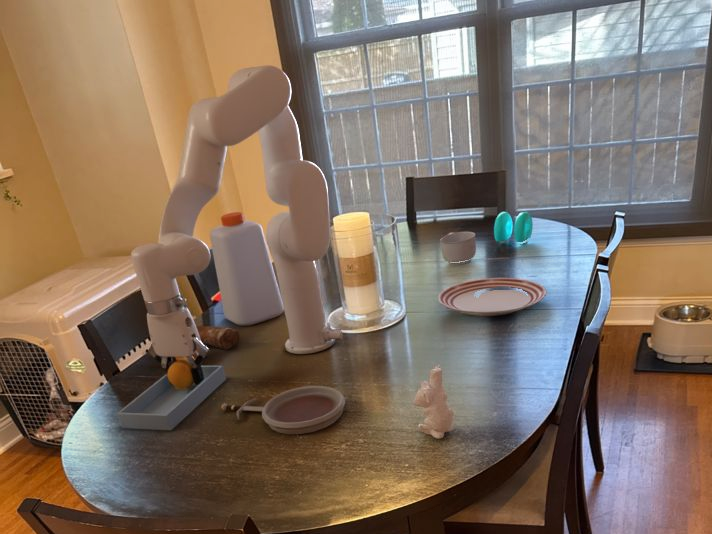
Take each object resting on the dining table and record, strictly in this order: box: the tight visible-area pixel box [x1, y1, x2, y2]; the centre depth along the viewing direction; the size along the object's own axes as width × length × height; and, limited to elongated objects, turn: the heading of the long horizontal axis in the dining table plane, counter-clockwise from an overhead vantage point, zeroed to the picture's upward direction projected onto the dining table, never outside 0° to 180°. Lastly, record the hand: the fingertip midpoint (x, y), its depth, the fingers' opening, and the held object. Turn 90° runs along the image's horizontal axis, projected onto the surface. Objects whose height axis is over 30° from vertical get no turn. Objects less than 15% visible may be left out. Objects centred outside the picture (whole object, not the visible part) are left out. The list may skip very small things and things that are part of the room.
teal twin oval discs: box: [493, 211, 534, 246], centre depth 216 cm, size 10×10×10 cm
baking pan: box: [116, 365, 227, 431], centre depth 148 cm, size 12×24×4 cm, turn 162°
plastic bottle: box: [209, 211, 284, 327], centre depth 185 cm, size 15×15×28 cm
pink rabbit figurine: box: [412, 365, 455, 440], centre depth 118 cm, size 8×7×12 cm
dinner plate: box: [437, 277, 547, 317], centre depth 173 cm, size 27×27×3 cm
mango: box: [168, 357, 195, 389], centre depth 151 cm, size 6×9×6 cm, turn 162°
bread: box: [196, 325, 241, 350], centre depth 176 cm, size 6×19×6 cm, turn 47°
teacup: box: [439, 231, 477, 266], centre depth 209 cm, size 14×11×8 cm
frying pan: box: [220, 385, 346, 435], centre depth 136 cm, size 17×3×28 cm
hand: (187, 381), depth 152 cm, fingers closed on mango, 5 cm apart
